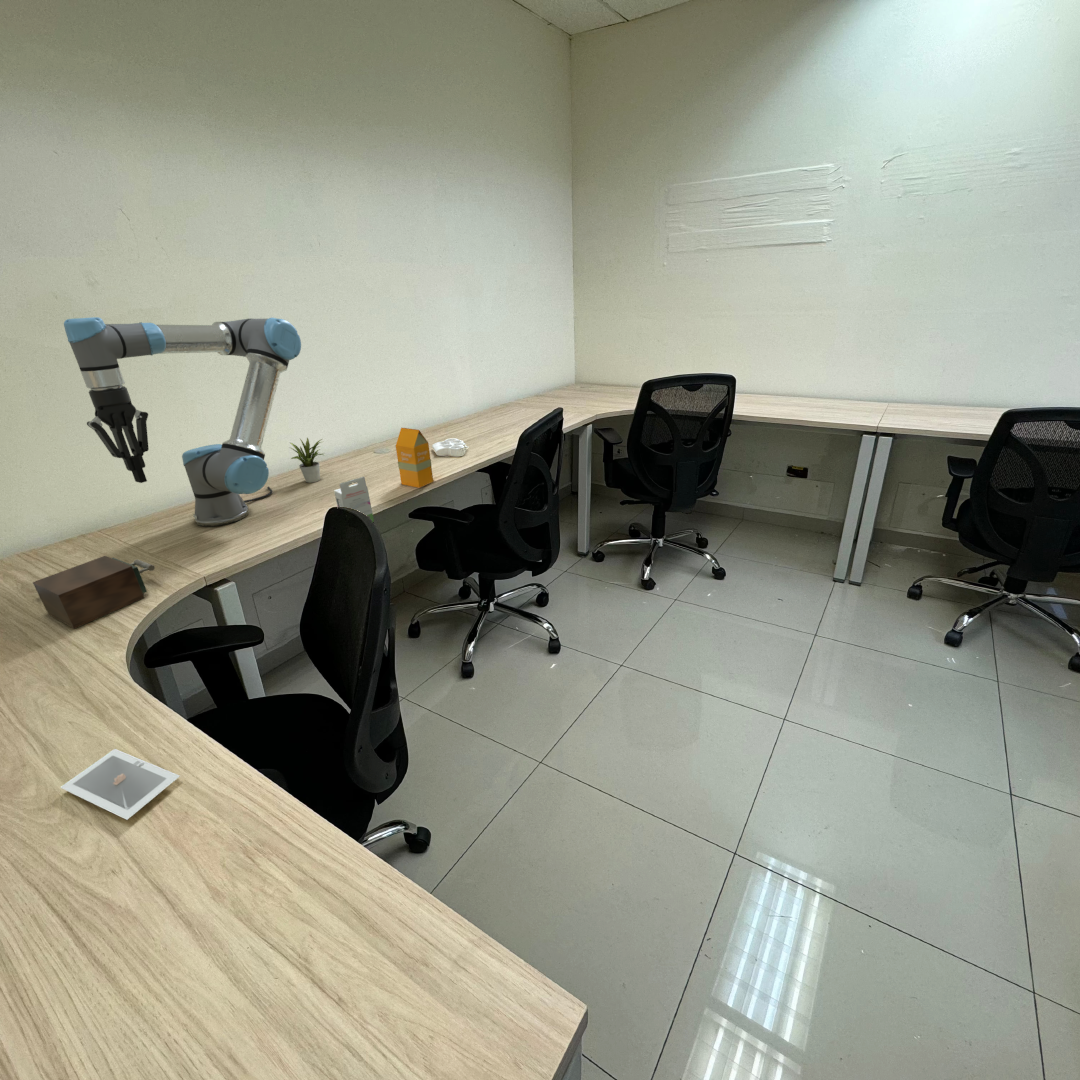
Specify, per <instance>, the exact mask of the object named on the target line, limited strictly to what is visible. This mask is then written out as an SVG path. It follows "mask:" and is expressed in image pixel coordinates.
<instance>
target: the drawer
mask: <svg viewBox="0 0 1080 1080" xmlns="http://www.w3.org/2000/svg"><path fill="white" fill-rule="evenodd" d="M111 558H112V559H115V560H117V561H120V562H122V563H125V564H128V565H130V566H132V568H133V570H134V573H135V575H136V578H137V580H138V583H139V585H140V588H141V590H142V593H143V594H145V593H147V592H148V590H147V587H146V585H145V583H144V580H143V577H142V573H143V574H144V573H145V572H147V571H149V572H153V571H155V569H156V566H155V565H154V564H151V563H149V562H146V561H143V560H141V559H138V558H137V559H136V558H135V559H134V560H133V562H131V563H129V562H126V561H123V560H121V559H118V558H116V557H111ZM138 567H139V568H142V569H139V568H138Z"/></svg>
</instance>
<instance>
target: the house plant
mask: <svg viewBox="0 0 1080 1080" xmlns="http://www.w3.org/2000/svg"><path fill="white" fill-rule="evenodd" d="M299 439H300V443H301V445H302V446H299V447H298V445H297V444H294V443H292V442H290V444H291V445H292V447H293V448H292V447H291V446H290V447H288V448H289V449H291V450H293V451H294V452H295V453H296V454H297V455H295V456H292V457H291V458H290V460H293V459H295V460H298V461H300V462H301V464H299V469H300V472H301V474H302V477H303V479H304V481H305V483H308V484H309V483H316V482H319V481H320V480H321V471H320V470H321V469H320V468H321V467H320V462H319V461H314V460H315V459H316V457H318V456H325V457H326V455H325V452H323V453H319V451H320V450H321V449H320V448H319V449H317V447H318V445H320V444H321V443H322V440H323V438H321V439H319V440H318V441H316V442H315V443H314V445H313V446H311V444H310V439H309V438H308V437H306V440H305V442H304V441H303V440H302V439H301V438H299Z"/></svg>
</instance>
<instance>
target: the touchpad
mask: <svg viewBox="0 0 1080 1080" xmlns="http://www.w3.org/2000/svg"><path fill="white" fill-rule="evenodd" d="M180 777H181V775H179V774H177V773H174V772H172V771H170V770H168V769H165V768H164V767H160V766H158V765H156V764H153V763H151V762H148V761H146V760H143V759H141V758H138V757H136V756H133V755H131V754H129V753H127V752H124V751H123V750H120V749H117V748H113V749H112V750H110V751H109V752H108V753H107V754H104V755H103V756H102V757H100V758H99V759H98V760H96V761H95V762H93V763H92V764H91V765H89V766H88V767H86V768H85V769H84V770H83V771H81V772H79V773H78V774H77V775H75V776H74V777H72V778H71V779H70V780H68V781H67V782H65V783H64V784H63V785H61V786H60V787H59V788H60V789H62V790H64V791H66V792H68V793H70V794H72V795H74V796H76V797H79V798H81V799H82V800H84V801H87V802H88V803H91V804H93V805H95V806H97V807H98V808H100V809H103V810H104V811H105V810H106V811H108V812H110V813H112V814H114V815H116V816H118V817H120V818H122V819H124V820H126V821H128V820H129V819H131V817H133V816H134V815H135V814H136V813H138V812H139V811H140V810H142V808H143V807H145V806H146V805H147V804H149V803H150V802H151V801H152V800H153V799H155V798H156V797H157V796H159V794H161V793H162V792H163V791H164V790H165V789H167V788H168V787H169V786H170V785H171V784H172V783H174V782H175V781H177V780H178V779H179V778H180Z"/></svg>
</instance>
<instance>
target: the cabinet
mask: <svg viewBox="0 0 1080 1080" xmlns="http://www.w3.org/2000/svg"><path fill="white" fill-rule="evenodd" d="M112 558H113V557H110V556H107V555H103V556H100V557H97V558H95V559H92V560H89V561H86V562H83V563H81V564H78V565H76V566H73V567H70V568H67V569H64V570H62V571H59V572H57V573H54V574H52V575H48V576H46V577H43V578H41V579H37V580H35V581H33V582H32V584H33V587H34V588H35V590H36V593H37V595H38V596H39V599H40V600H41V602H42V605H43V606H44V609H45V610H46V612H47V615H48V616H50V617H52V618H54V619H56V620H57V621H59V622H61V623H63V624H64V625H66V626H67V627H71V628H72V629H74V630H75V629H77V628H79V627H82V626H84V625H86V624H88V623H91V622H93V621H95V620H97V619H100V618H102V617H104V616H107V615H109V614H112V613H114V612H115V611H118V610H120V609H123V608H124V607H126V606H129V605H131V604H134V603H136V602H138V601H141V600H142V599H145V596H144V593H142V590H141V588H140V585H139V583H138V580H137V578H136V575H135V573H134V570H133V568H132V566H130V565H128V564H125V563H122V562H120V561H117V560H115V559H112Z"/></svg>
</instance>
